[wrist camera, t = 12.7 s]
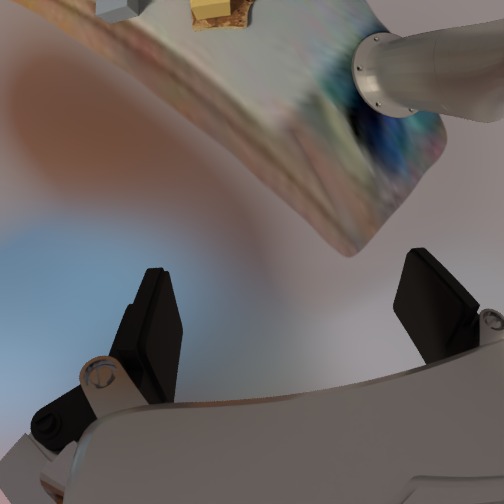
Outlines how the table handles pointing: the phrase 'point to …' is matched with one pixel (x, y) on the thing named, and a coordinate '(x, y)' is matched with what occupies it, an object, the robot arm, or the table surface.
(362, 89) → the robot arm
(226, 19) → the shard
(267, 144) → the table surface
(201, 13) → the mustard brick
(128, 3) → the slate brick
